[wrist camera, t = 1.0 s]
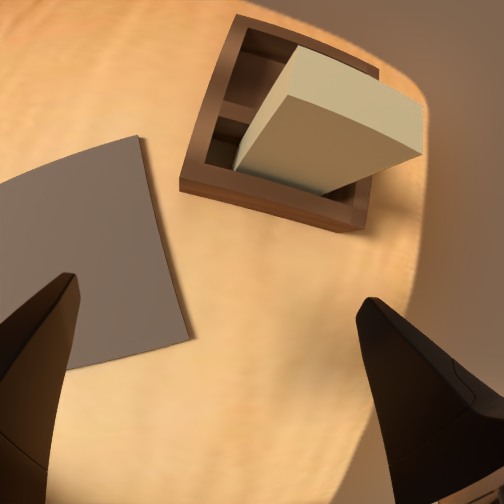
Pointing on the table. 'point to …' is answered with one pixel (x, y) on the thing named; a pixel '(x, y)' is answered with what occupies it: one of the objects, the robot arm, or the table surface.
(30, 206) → the rubber mat
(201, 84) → the table surface
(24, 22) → the table surface
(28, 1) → the table surface
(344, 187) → the slotted box
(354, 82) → the beige rectangular block
